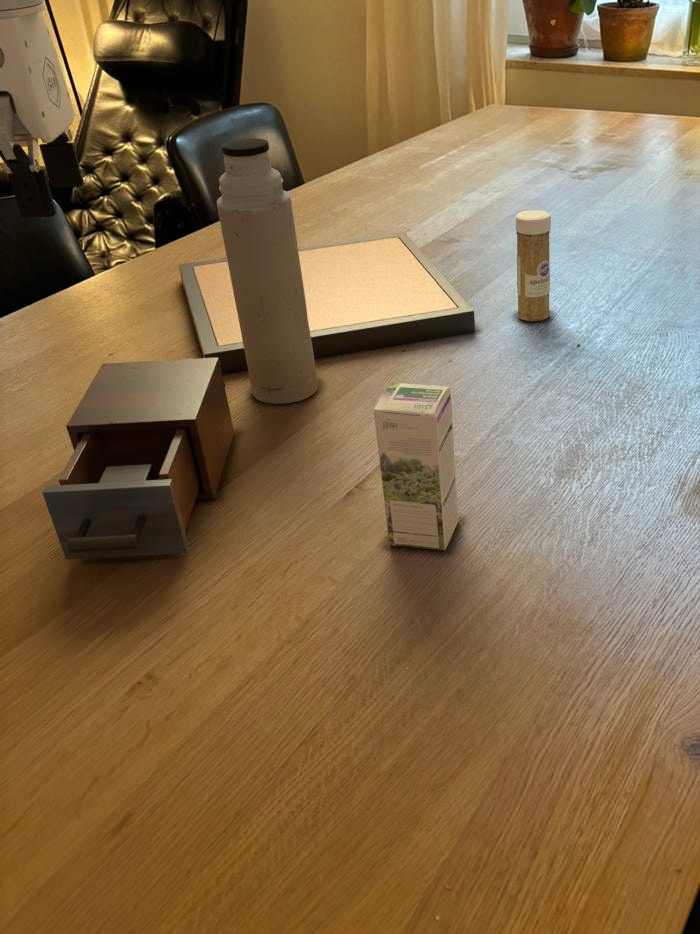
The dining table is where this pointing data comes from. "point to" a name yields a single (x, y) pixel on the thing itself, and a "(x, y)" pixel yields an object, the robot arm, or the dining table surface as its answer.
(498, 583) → the dining table surface
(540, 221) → the sprinkles bottle
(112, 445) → the drawer
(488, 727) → the dining table surface
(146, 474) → the block
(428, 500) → the syrup box
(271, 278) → the thermos bottle
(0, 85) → the robot arm
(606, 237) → the dining table surface
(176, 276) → the dining table surface
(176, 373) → the cabinet
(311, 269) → the cork board
